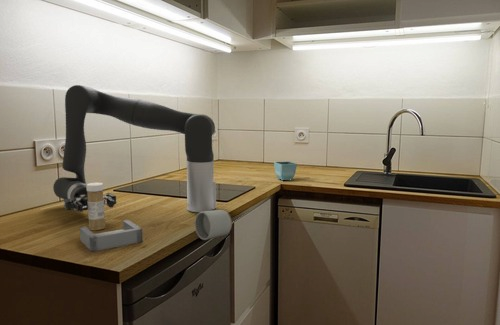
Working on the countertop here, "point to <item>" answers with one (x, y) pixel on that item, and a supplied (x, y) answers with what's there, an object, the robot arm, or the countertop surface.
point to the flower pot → (285, 170)
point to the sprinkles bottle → (95, 206)
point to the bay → (111, 237)
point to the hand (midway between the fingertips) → (97, 206)
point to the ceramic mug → (212, 224)
